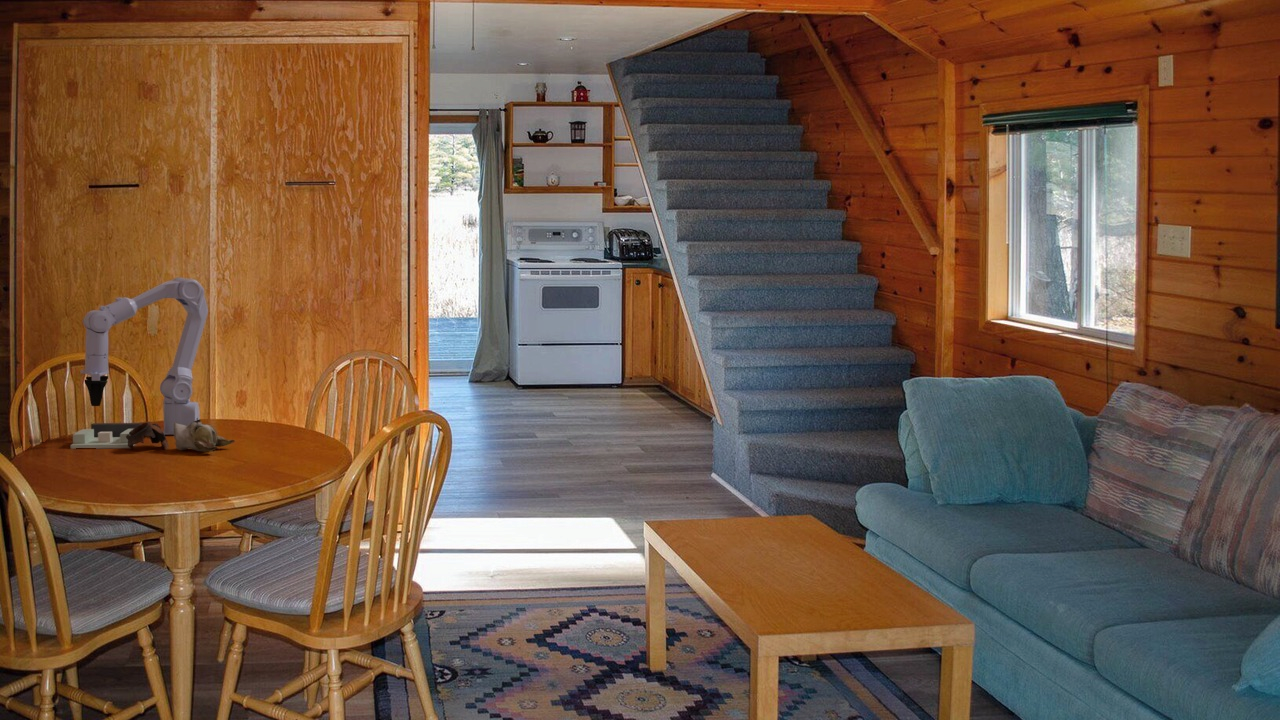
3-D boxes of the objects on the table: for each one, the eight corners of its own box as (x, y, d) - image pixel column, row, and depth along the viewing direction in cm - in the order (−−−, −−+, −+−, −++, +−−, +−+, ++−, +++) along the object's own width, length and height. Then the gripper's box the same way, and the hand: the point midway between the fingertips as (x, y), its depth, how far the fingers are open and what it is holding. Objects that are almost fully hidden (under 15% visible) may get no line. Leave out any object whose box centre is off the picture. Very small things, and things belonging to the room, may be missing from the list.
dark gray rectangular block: (147, 433, 348) (146, 419, 348) (140, 438, 341) (140, 424, 341) (99, 434, 347) (98, 420, 346) (91, 438, 340) (91, 424, 339)
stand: (141, 440, 338) (140, 427, 338) (130, 448, 327) (129, 435, 327) (83, 441, 336) (83, 428, 336) (70, 448, 325) (70, 435, 325)
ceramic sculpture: (185, 413, 331) (236, 419, 328) (184, 445, 332) (236, 451, 329) (163, 420, 320) (215, 426, 318) (162, 453, 321) (215, 459, 319)
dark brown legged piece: (167, 454, 323) (149, 428, 320) (135, 469, 324) (117, 443, 321) (178, 434, 334) (160, 409, 331) (147, 449, 335) (130, 424, 332)
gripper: (81, 351, 340) (81, 400, 341) (79, 356, 326) (78, 407, 328) (109, 352, 342) (109, 400, 344) (108, 357, 329) (107, 407, 330)
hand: (96, 404), depth 336 cm, fingers open, 7 cm apart
